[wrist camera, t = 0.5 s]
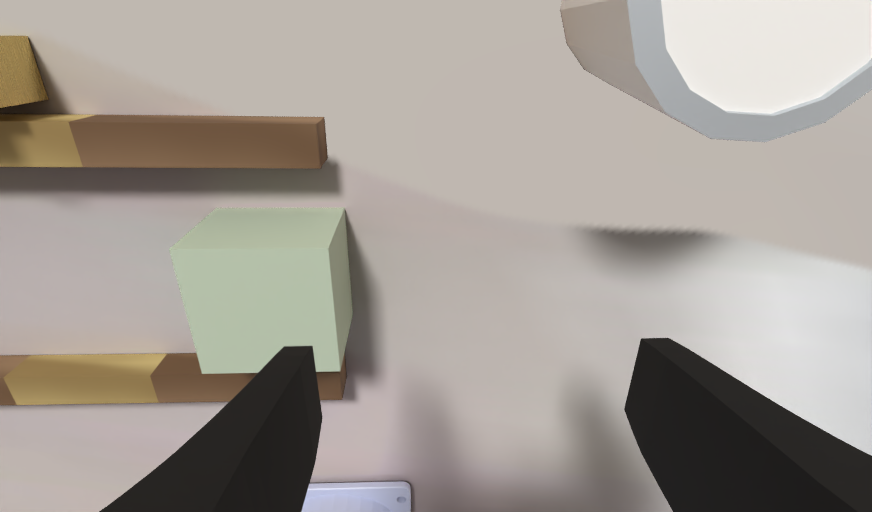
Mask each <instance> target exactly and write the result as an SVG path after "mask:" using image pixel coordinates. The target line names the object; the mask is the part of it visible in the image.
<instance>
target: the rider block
mask: <svg viewBox="0 0 872 512" xmlns="http://www.w3.org/2000/svg"><path fill="white" fill-rule="evenodd" d="M169 251H170V255H171V259H172V262H173V266H174V270H175V274H176V278H177V281H178V285H179V289H180V293H181V296H182V300H183V304H184V308H185V311H186V315H187V319H188V323H189V327H190V330H191V334H192V338H193V342H194V345H195V349H196V353H197V357H198V360H199V364H200V368H201V372H202V374H219V373H258V372H259V371H260V370H261V369H262V368H263V367H264V366H265V365H266V364H267V363H268V362H269V361H270V360H271V359H272V358H273V357H274V356H275V355H276V354H277V353H278V352H279V351H280V350H281V349H282V348H283V347H284V346H313V353H314V360H315V368H316V372H333V371H340V370H341V366H342V361H343V357H344V352H345V348H346V343H347V339H348V334H349V330H350V325H351V321H352V316H353V308H352V295H351V282H350V269H349V257H348V244H347V231H346V218H345V208H216V209H215V210H214V211H212V212H211V213H210V214H209V215H208V216H207V217H206V218H204V219H203V220H202V221H201V222H200V223H199V224H198V225H196V226H195V227H194V228H193V229H192V230H191V231H190V232H188V233H187V234H186V235H185V236H184V237H183V238H182V239H180V240H179V241H178V242H177V243H176V244H175V245H174V246H172V247H171V248H170V249H169Z"/></svg>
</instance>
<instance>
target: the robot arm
mask: <svg viewBox="0 0 872 512" xmlns="http://www.w3.org/2000/svg"><path fill="white" fill-rule="evenodd" d="M624 410H625V412H626V415H627V418H628V420H629V423H630V426H631V429H632V431H633V434H634V436H635V439H636V441H637V444H638V446H639V448H640V451H641V453H642V455H643V457H644V459H645V461H646V463H647V465H648V466H649V468H650V470H651V472H652V474H653V476H654V478H655V479H656V481H657V483H658V485H659V487H660V489H661V490H662V492H663V494H664V496H665V498H666V499H667V501H668V503H669V505H670V507H671V509H672V510H673V512H872V456H871V455H869V454H867V453H865V452H863V451H861V450H859V449H857V448H855V447H853V446H851V445H849V444H847V443H845V442H844V441H842V440H840V439H838V438H836V437H834V436H832V435H831V434H829V433H827V432H825V431H824V430H822V429H820V428H818V427H816V426H815V425H813V424H811V423H809V422H808V421H806V420H804V419H802V418H801V417H799V416H797V415H795V414H794V413H792V412H790V411H788V410H787V409H785V408H783V407H782V406H780V405H778V404H777V403H775V402H773V401H772V400H770V399H768V398H767V397H765V396H763V395H762V394H760V393H758V392H757V391H755V390H753V389H752V388H750V387H749V386H747V385H745V384H744V383H742V382H741V381H739V380H737V379H736V378H734V377H732V376H731V375H729V374H728V373H726V372H724V371H723V370H721V369H720V368H718V367H716V366H715V365H713V364H712V363H710V362H708V361H707V360H705V359H704V358H702V357H700V356H699V355H697V354H695V353H694V352H692V351H691V350H689V349H687V348H685V347H684V346H682V345H680V344H678V343H677V342H675V341H673V340H671V339H669V338H646V339H641V341H640V345H639V350H638V354H637V358H636V362H635V366H634V371H633V375H632V379H631V383H630V388H629V392H628V396H627V400H626V404H625V409H624ZM321 423H322V412H321V405H320V397H319V390H318V382H317V375H316V368H315V360H314V353H313V346H284V347H283V348H282V349H281V350H280V351H279V352H278V353H277V354H276V355H275V356H274V357H273V358H272V359H271V360H270V361H269V362H268V363H267V364H266V365H265V366H264V367H263V368H262V369H261V370H260V371H259V372H258V373H257V374H256V375H255V376H254V377H253V379H252V380H251V381H250V382H249V383H248V384H247V385H246V386H245V387H244V388H243V389H242V390H241V391H240V392H239V393H238V394H237V395H236V396H235V397H234V398H233V399H232V400H231V401H230V402H229V403H228V404H227V405H226V406H225V407H224V408H223V409H222V410H221V411H220V412H219V413H218V414H216V415H215V416H214V417H213V418H212V419H211V420H210V421H209V422H208V423H207V424H206V425H205V426H204V427H203V428H201V429H200V430H199V431H198V432H197V433H196V434H195V435H194V436H193V437H192V438H190V439H189V440H188V441H187V442H186V443H185V444H184V445H183V446H182V447H180V448H179V449H178V450H177V451H176V452H175V453H174V454H173V455H171V456H170V457H169V458H168V459H167V460H165V461H164V462H163V463H162V464H161V465H159V466H158V467H157V468H156V469H155V470H153V471H152V472H151V473H150V474H148V475H147V476H146V477H145V478H143V479H142V480H141V481H139V482H138V483H137V484H136V485H134V486H133V487H132V488H130V489H129V490H128V491H127V492H125V493H124V494H123V495H121V496H120V497H119V498H117V499H116V500H115V501H113V502H112V503H111V504H109V505H108V506H107V507H105V508H104V509H102V510H101V511H100V512H411V487H410V485H409V484H408V483H407V482H403V481H394V482H353V483H312V484H309V483H310V479H311V476H312V472H313V468H314V465H315V460H316V454H317V448H318V442H319V436H320V429H321Z"/></svg>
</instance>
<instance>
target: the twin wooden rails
mask: <svg viewBox="0 0 872 512" xmlns="http://www.w3.org/2000/svg"><path fill="white" fill-rule="evenodd" d="M327 158H328V156H327V144H326V133H325V121H324V117H264V116H169V115H73V114H0V167H141V168H321V167H322V165H323V164H324V163H325V161H326V160H327ZM256 374H257V373H219V374H202V372H201V368H200V364H199V360H198V357H197V353H179V354H95V355H11V356H0V405H42V404H103V403H164V402H224V401H231V400H232V399H233V398H234V397H235V396H236V395H237V394H238V393H239V392H240V391H241V390H242V389H243V388H244V387H245V386H246V385H247V384H248V383H249V382H250V381H251V380H252V379H253V377H254V376H255V375H256ZM316 375H317V382H318V390H319V397H320V400H342V398H343V393H344V388H345V383H346V378H347V376H346V364H345V353H344V357H343V361H342V366H341V370H340V371H333V372H316Z"/></svg>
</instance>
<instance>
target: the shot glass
mask: <svg viewBox="0 0 872 512" xmlns="http://www.w3.org/2000/svg"><path fill="white" fill-rule="evenodd" d="M560 11H561V17H562V22H563V27H564V32H565V37H566V43H567V45H568V46H569V48H570V49H571V51H572V52H573V54H574V55H575V57H576V58H577V60H578V61H579V63H580V64H581V66H582V67H583V69H584V70H586V71H588V72H589V73H591V74H593V75H595V76H596V77H598V78H600V79H602V80H603V81H605V82H607V83H609V84H610V85H612V86H614V87H616V88H618V89H620V90H622V91H623V92H625V93H627V94H629V95H631V96H633V97H635V98H636V99H638V100H640V101H642V102H644V103H646V104H647V105H649V106H651V107H653V108H655V109H657V110H659V111H660V112H662V113H664V114H666V115H668V116H670V117H671V118H673V119H675V120H677V121H679V122H681V123H682V124H684V125H686V126H688V127H690V128H692V129H694V130H695V131H698V132H699V133H701V134H703V135H705V136H706V137H708V138H710V139H723V140H740V141H757V142H767V141H770V140H773V139H776V138H779V137H782V136H785V135H789V134H791V133H795V132H797V131H801V130H804V129H807V128H810V127H813V126H816V125H819V124H822V123H825V122H826V121H828V120H829V119H831V118H832V117H833V116H835V115H836V114H838V113H839V112H841V111H842V110H843V109H845V108H846V107H848V106H849V105H850V104H852V103H853V102H855V101H856V100H858V99H859V98H860V97H862V96H863V95H865V94H866V93H868V92H869V91H870V90H872V0H562V2H561V9H560Z"/></svg>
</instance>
